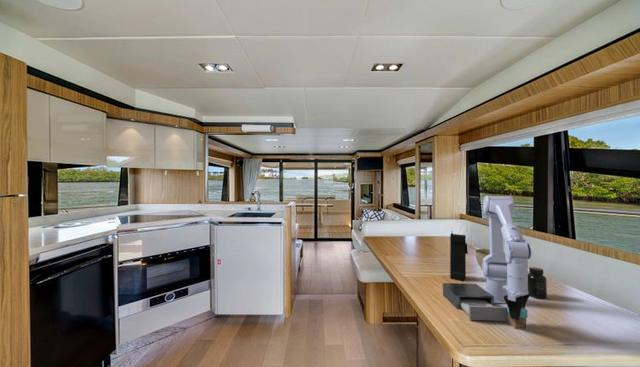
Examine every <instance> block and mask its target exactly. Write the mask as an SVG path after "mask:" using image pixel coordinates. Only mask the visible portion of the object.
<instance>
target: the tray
mask: <svg viewBox="0 0 640 367" xmlns="http://www.w3.org/2000/svg"><path fill="white" fill-rule="evenodd" d="M459 306H461V307H462V308H463V309H462V310H464V311H465V312H466V313H467V314H468V319H469V320H470V321H471V320H472V321H491V322H492V321H498V322H499V321H500V322H508V313H507V306H497V305H494V306H492V305H491V304H490V303H489V302H487V301H486V300H485V299H459Z"/></svg>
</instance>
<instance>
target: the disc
mask: <svg viewBox="0 0 640 367" xmlns="http://www.w3.org/2000/svg"><path fill="white" fill-rule="evenodd" d="M506 307H507V313H508V314H510V313H509V309H508V306H506ZM520 318H526V319H527V318H528V309H527V308H526V307H525V308H523V307H522V308H521V313H520Z"/></svg>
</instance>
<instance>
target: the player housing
mask: <svg viewBox="0 0 640 367" xmlns="http://www.w3.org/2000/svg"><path fill="white" fill-rule="evenodd" d="M442 295H443V297H444V298H445V299H447V301H448V302H449V303H450V304H451V305H452V306H453V307H454V308H456V309H457V310H464V309H463V308H462V307H461V306H459V299H485V300H486V301H487V302H489V303H490V304H491V305H492V306H495V303H494V296H493V295H491V294H490V293H488V292H487V290H485V289H484V288H482V287H481V286H480V285H478V284H477V283H463V282H462V283H453V282H443V283H442Z"/></svg>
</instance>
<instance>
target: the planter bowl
mask: <svg viewBox="0 0 640 367" xmlns="http://www.w3.org/2000/svg"><path fill="white" fill-rule="evenodd" d="M474 253H475V260H476V262H477V265H478V266H479V267H480V269H481V271H482V263H483V258H484V257H486V256H487V255H489V254H490V248H489V249H487V248H478V249H475V250H474ZM503 256H504V257H505V251H503ZM494 263H501V262H494Z"/></svg>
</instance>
